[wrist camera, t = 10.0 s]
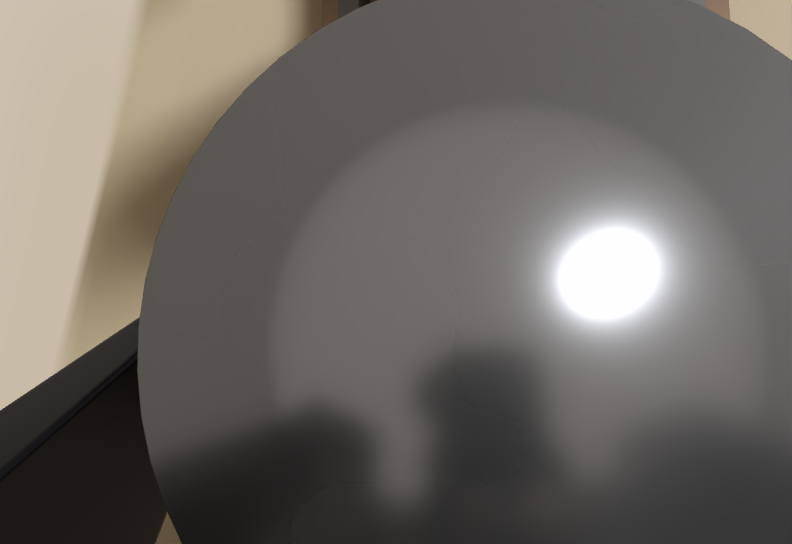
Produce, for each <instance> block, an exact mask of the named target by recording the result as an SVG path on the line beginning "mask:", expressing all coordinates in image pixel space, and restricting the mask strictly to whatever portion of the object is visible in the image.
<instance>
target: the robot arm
mask: <svg viewBox="0 0 792 544" xmlns="http://www.w3.org/2000/svg"><path fill="white" fill-rule="evenodd" d="M139 320H140V317H139V318H138V319H136V320H135V321H133V322H132V323H130V324H129V325H127V326H126V327H124V328H123V329H121V330H120V331H118V332H117V333H115V334H114V335H112V336H111V337H109V338H108V339H106V340H105V341H103V342H102V343H100V344H99V345H97V346H96V347H94V348H93V349H91V350H90V351H88V352H87V353H85V354H84V355H82V356H81V357H80V358H78V359H77V360H75V361H74V362H72V363H71V364H69V365H68V366H66V367H65V368H63V369H62V370H60V371H59V372H57V373H56V374H54V375H53V376H51V377H50V378H48V379H47V380H45V381H44V382H42V383H41V384H39V385H38V386H36V387H35V388H34V389H32V390H30V391H29V392H27V393H26V394H24V395H23V396H21V397H20V398H18V399H17V400H15V401H14V402H12V403H11V404H9V405H8V406H6V407H5V408H3V409H2V410H0V544H155V543H156V540H157V538H158V535H159V532H160V530H161V527H162V525H163V522H164V519H165V517H166V514H167V510H166V507H165V505H164V502H163V499H162V495H161V492H160V489H159V486H158V483H157V480H156V477H155V474H154V471H153V468H152V465H151V462H150V457H149V452H148V447H147V442H146V437H145V432H144V427H143V422H142V417H141V407H140V395H139V383H138V372H137V368H138V333H139Z"/></svg>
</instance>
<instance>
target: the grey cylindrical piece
mask: <svg viewBox="0 0 792 544" xmlns="http://www.w3.org/2000/svg"><path fill="white" fill-rule="evenodd" d="M137 372H138V383H139V395H140V407H141V417H142V422H143V427H144V432H145V437H146V442H147V447H148V452H149V457H150V462H151V465H152V468H153V471H154V474H155V477H156V480H157V483H158V486H159V489H160V492H161V495H162V499H163V502H164V505H165V507H166V510H167V512H168V514H169V516H170V518H171V520H172V523H173V525H174V527H175V529H176V531H177V534H178V536H179V538H180V540H181V542H182V544H792V60H791V59H789V58H788V57H786V56H785V55H783V54H782V53H780V52H779V51H778V50H776V49H775V48H773V47H772V46H770V45H769V44H767V43H766V42H765V41H763V40H762V39H760V38H759V37H757V36H756V35H755V34H753V33H752V32H750V31H749V30H747V29H745V28H744V27H742V26H740V25H738V24H736V23H734V22H732V21H730V20H728V19H726V18H724V17H722V16H720V15H718V14H716V13H714V12H712V11H711V10H709V9H707V8H705V7H703V6H701V5H699V4H697V3H694V2H691V1H688V0H377V1H375V2H372V3H370V4H367V5H365V6H362V7H360V8H357V9H356V10H354V11H352V12H350V13H348V14H347V15H345V16H343V17H341V18H339V19H338V20H336V21H334V22H332V23H330V24H329V25H327V26H325V27H323V28H321V29H320V30H318V31H316V32H315V33H313V34H312V35H311V36H309V37H308V38H306V39H305V40H304V41H302V42H301V43H300V44H298V45H297V46H295V47H294V48H293V49H291V50H290V51H288V52H287V53H286V54H284V55H283V56H282V57H280V58H279V59H278V60H277V61H276V62H275V63H274V64H272V65H271V66H270V67H269V68H268V69H267V70H266V71H265V72H264V73H263V74H262V75H260V76H259V77H258V78H257V79H256V80H255V81H254V82H253V83H252V84H251V85H249V86H248V87H247V88H246V89H245V91H244V92H243V93H242V94H241V95H240V96H239V98H238V99H237V100H236V101H235V102H234V103H233V104H232V106H231V107H230V108H229V109H228V110H227V111H226V113H225V114H224V115H223V116H222V117H221V118H220V119H219V121H218V122H217V123H216V125H215V126H214V128H213V129H212V131H211V132H210V134H209V135H208V137H207V138H206V139H205V141H204V142H203V144H202V145H201V147H200V148H199V150H198V151H197V153H196V154H195V156H194V157H193V159H192V160H191V162H190V164H189V166H188V168H187V170H186V172H185V174H184V176H183V178H182V180H181V181H180V183H179V185H178V187H177V189H176V191H175V193H174V195H173V197H172V199H171V202H170V204H169V207H168V209H167V212H166V215H165V217H164V220H163V222H162V225H161V227H160V230H159V233H158V235H157V238H156V241H155V245H154V249H153V253H152V257H151V260H150V264H149V268H148V272H147V276H146V280H145V285H144V292H143V299H142V306H141V313H140V320H139V333H138V368H137Z"/></svg>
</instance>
